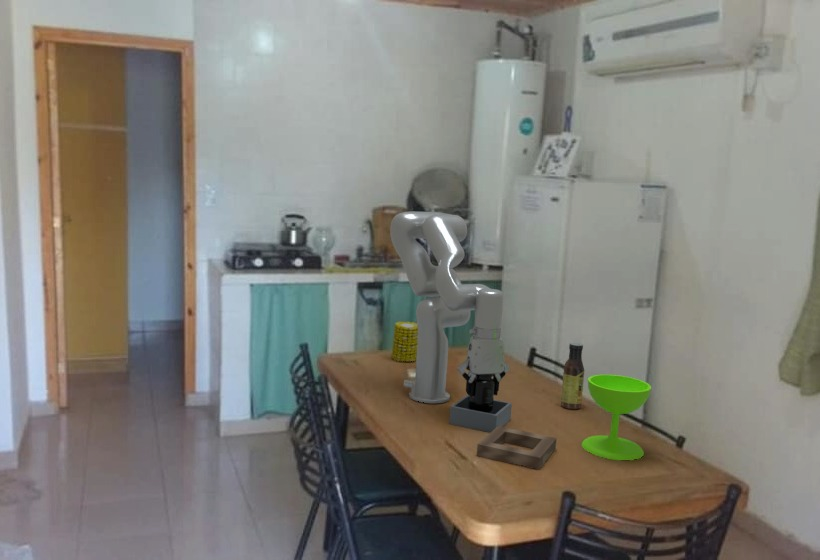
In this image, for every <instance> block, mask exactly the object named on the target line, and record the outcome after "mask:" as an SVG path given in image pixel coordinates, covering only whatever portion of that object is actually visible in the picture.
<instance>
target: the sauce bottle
mask: <svg viewBox="0 0 820 560" xmlns="http://www.w3.org/2000/svg"><path fill="white" fill-rule="evenodd" d="M568 349H569V353H568V355H569V356H568V359H567V360H566V361H565V363H564V366H563V375H562V386H561V397H560V405H561V407H563V408H565V409H569V410H578V409H580V408H581V405H582V401H583V390H584V380H585V379H584V378H585V367H584V364H583V359H582V355H583V349H584V344H582V343H579V342H570V343H569V348H568Z"/></svg>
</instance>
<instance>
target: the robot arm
mask: <svg viewBox="0 0 820 560" xmlns="http://www.w3.org/2000/svg"><path fill="white" fill-rule="evenodd" d="M389 231H390V232H389V233H390V234H389V236H390V240H391V243H392V245H393V247H394V250H395V252H396V254H397V255H398V256H399V259H400V260H401V261H400V262H401V263H402V266H403V269H404V272H405V273H406V277H407V279H408V282H409V285H410V288H411V290H412V292H413V293H414V295H415V296H418V297H423V298H424V299H422V300H421V301H419V302H418V304H417V306H416V310H415V315H416V316H415V318H416V324H417V326H418V343H417V359H416V360H415V362H416V364H415V378H414V380H413V381H412V380H410V379H404V381H403V387H404V388H406V389H410V391H409V393H408V394H409V395H408V397H409V398H410V399H411V400H413V401H416V402H418V401H419V403H423V402H424V403H425V404H443V403H446V402H448V401H450V398H451V395H450V393H448V392H447V391H446V385H447V384H446V383H447V370H448V360H449V359H448V358H449V357H448V356H449V355H448V354H449V339H448V337H447V334H446V333H445V331H444V329H445V328H455V327H461V326H465V325H466V324H467V323H468V322H469V321H470V318H471V314H472V313H471V312H472V311H474V319H473V321H474V322H473V327H472V328H471V329H469V332H468V333H469V334H470V335H472V336H470V339H469V343H468V346H467V347H468V348H467V353H466V359H465V360H464V362H462V363H461V364H460V365H459V366H458V367H457V368H456V369H457V371H458V372H459V374H460V375H461V376H462V377H463V379H464V380H465V382H466V383H465V392H466V395H469V396H471V397H473V395H474V383H473V380H474V378H475V376H476V375H484V374H493V376H492V379H493V380H494V381H495V390H494V396H498V393H499V390H500V389H499V388H500V382H501V381H502V379H503V378H504V377H505V376H506V374H507V373H508V372H509V371H510V369H511V366H510V365H509V364H508V363H507V362H506V361H505V346H504V339H503V337H501V329H502V319H503V307H504V293H503V292H502V291H501V290H500V289H496V288H490V287H488V286H487V285H485V284H482V283H465V284H463V283H462V281H461V279H460V277H459V275H458V273H457V271H456V270H454V268H456V267H457V266H458V265H459V264H461V263H462V261H463V260H464V258H465V254H466V253H465V250H464V248H463V247H462V245H461V243H460V242H463V241H464V240H465V239H466V237H467V236H468V225H467V222H466V221H465V220H464V218H462V217H461V216H460V215H457V214H450V213H445V212H438V211H414V210H413V211H411V210H410V211H403V212H400V213H397V214H396V215H395V216H394V217H393V218H392V220H391V222H390V230H389ZM416 239H425V241H426V242H427V243H426V244H428V247H429V248H430V251H431V253H432V254H433V256H434V258H435V260H436V262H437V264H438V265H434V264H432V262H431V259H430V256H429V254H428V252H427V251H426V249H425V248H424V247H423V245H421V243H419V241H417V240H416ZM466 370H467V372H466ZM424 403H423V404H424Z"/></svg>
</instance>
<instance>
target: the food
mask: <svg viewBox="0 0 820 560" xmlns="http://www.w3.org/2000/svg"><path fill="white" fill-rule="evenodd" d="M392 338H393V339H392V347H391V349H392V350H391V359H392V360H394V361H395V360H396V361H397V362H398V361H400V362H402V363H404V362H411V361H412V362H413V361H414V362H416V360H417V343H418V326H417V323H416V322H414V321H411V322H410V321H397V322H395V323H394V329H393V336H392ZM403 361H404V362H403Z"/></svg>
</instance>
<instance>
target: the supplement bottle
mask: <svg viewBox="0 0 820 560" xmlns="http://www.w3.org/2000/svg"><path fill="white" fill-rule="evenodd" d="M473 383H474V395H473V397H471V396H470V399H469V409H470V410H475V411H480V412H485V413H490V412H491V411H492V410H493V401H494V400H495V395H494V390H495V381H494V380H493V374H484V375H476V376H475V378H474V380H473Z"/></svg>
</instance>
